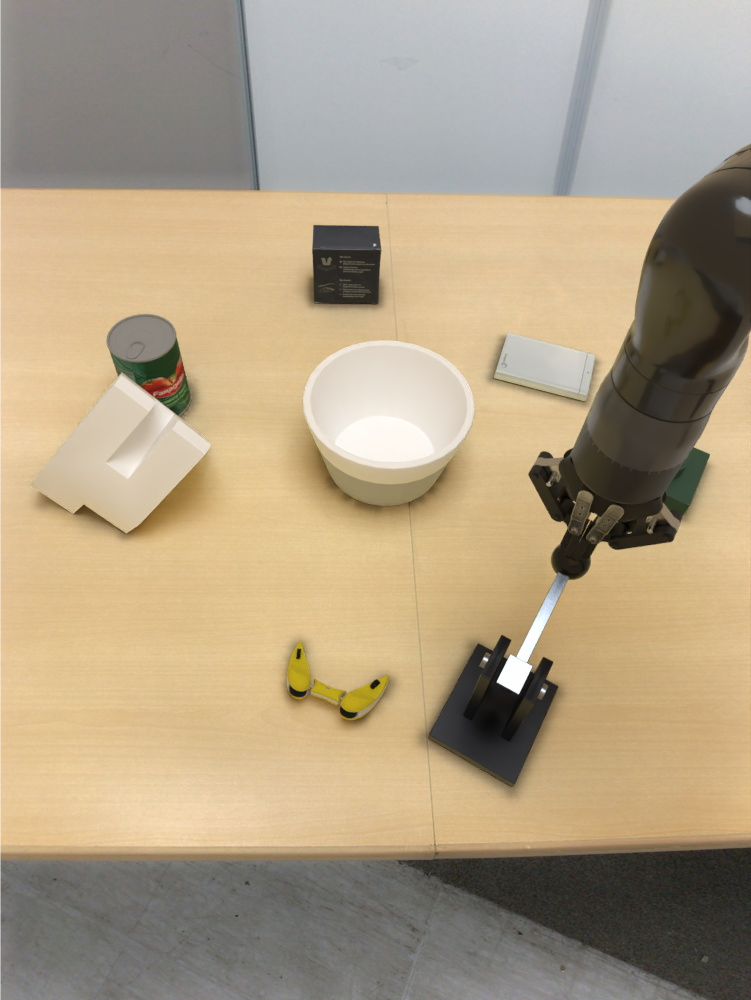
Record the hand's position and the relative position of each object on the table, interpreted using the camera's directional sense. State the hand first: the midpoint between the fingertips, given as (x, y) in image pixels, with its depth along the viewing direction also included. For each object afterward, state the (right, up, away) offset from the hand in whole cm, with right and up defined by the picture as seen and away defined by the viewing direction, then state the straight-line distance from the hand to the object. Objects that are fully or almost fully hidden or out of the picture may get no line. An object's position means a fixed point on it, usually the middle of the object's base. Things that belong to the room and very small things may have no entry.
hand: (574, 550), depth 67 cm
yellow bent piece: (-22, -14, +7) cm, 28 cm away
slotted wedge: (-45, +6, +20) cm, 50 cm away
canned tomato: (-46, +17, +28) cm, 56 cm away
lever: (-3, -6, +2) cm, 7 cm away
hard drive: (+5, +22, +34) cm, 41 cm away
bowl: (-17, +9, +24) cm, 31 cm away
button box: (+16, +8, +25) cm, 31 cm away
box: (-22, +35, +42) cm, 59 cm away
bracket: (-6, -17, +6) cm, 19 cm away
